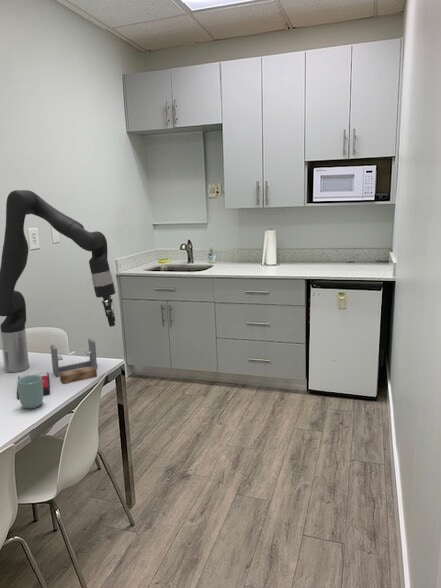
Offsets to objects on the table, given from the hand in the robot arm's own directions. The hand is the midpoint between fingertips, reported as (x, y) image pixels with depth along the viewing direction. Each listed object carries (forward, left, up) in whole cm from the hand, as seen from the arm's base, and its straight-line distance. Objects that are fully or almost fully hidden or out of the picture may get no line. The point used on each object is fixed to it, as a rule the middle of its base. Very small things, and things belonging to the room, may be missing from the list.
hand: (112, 323), depth 171 cm
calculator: (-30, +7, -23) cm, 38 cm away
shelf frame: (-12, +16, -23) cm, 30 cm away
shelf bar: (-13, +7, -23) cm, 27 cm away
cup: (-33, -8, -23) cm, 41 cm away
